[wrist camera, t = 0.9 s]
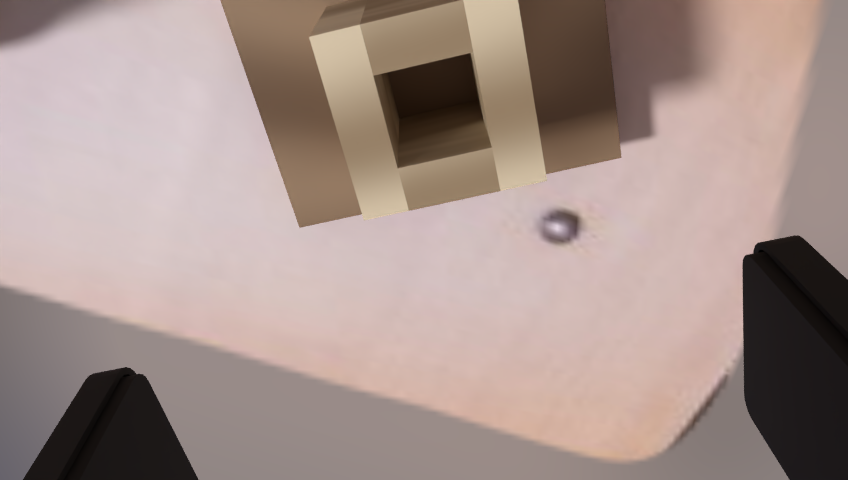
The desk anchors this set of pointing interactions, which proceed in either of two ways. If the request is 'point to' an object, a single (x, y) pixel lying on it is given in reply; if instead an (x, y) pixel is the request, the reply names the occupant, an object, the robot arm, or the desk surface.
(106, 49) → the desk surface
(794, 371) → the robot arm
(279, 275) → the desk surface
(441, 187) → the wooden square holder
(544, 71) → the brown rectangular board
